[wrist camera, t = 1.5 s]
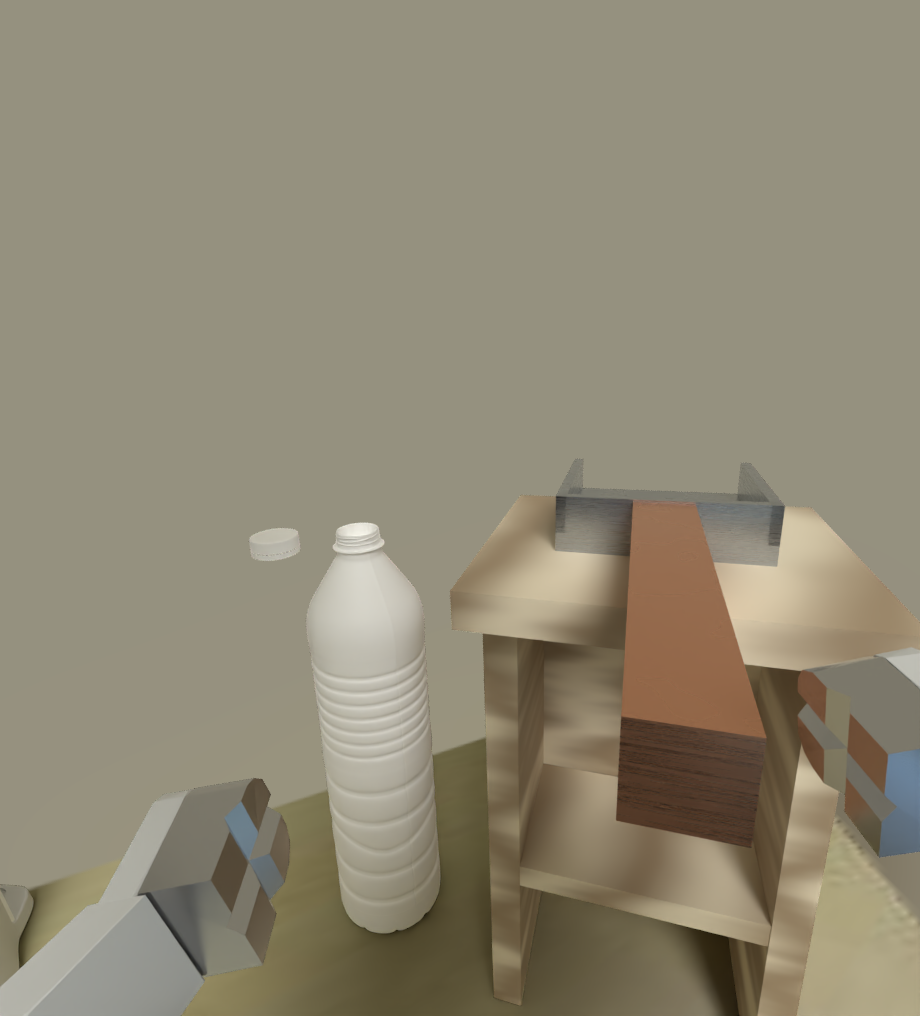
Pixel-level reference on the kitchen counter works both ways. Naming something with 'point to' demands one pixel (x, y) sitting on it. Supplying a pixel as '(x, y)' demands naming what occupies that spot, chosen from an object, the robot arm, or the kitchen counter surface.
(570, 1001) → the kitchen counter surface
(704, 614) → the shovel
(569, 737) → the stand
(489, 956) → the kitchen counter surface
